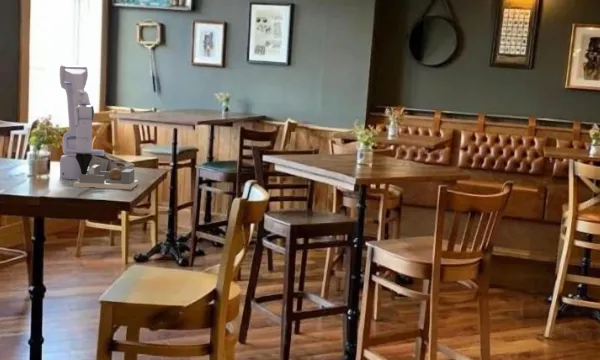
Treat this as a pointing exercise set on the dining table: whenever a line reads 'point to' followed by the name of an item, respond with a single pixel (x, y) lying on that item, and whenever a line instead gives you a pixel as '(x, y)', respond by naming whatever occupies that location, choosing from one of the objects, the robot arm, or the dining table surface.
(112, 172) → the tan brown ball
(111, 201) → the dining table surface
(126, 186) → the press board
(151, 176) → the dining table surface
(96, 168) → the block
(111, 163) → the coffee box
